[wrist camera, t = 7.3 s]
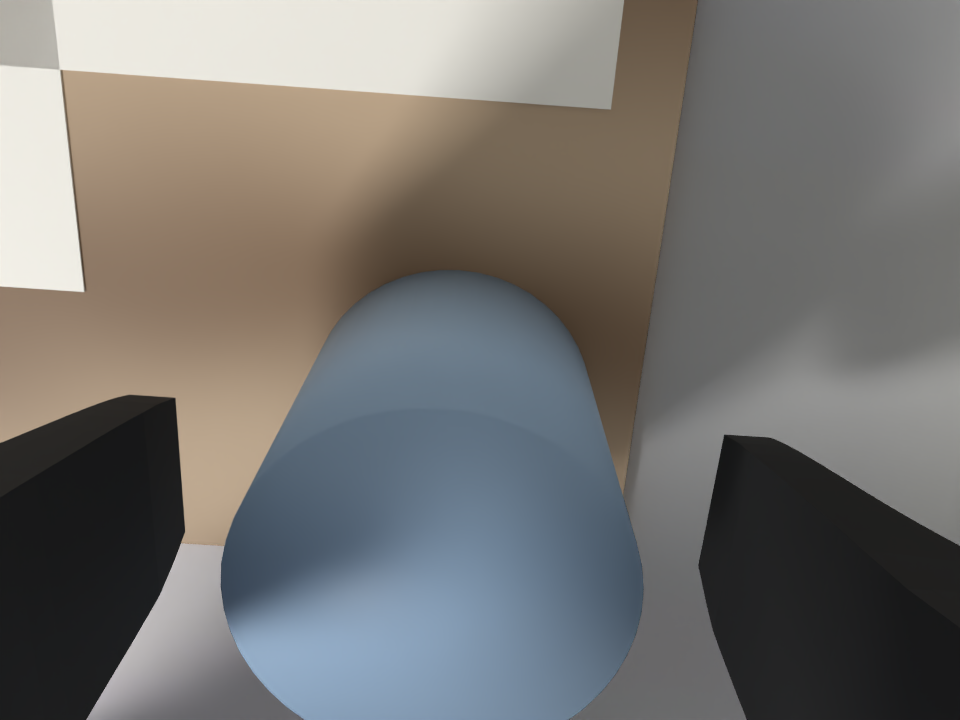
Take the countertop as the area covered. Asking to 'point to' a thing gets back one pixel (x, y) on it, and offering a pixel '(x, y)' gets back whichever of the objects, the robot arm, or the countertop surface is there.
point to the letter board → (334, 240)
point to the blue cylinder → (437, 519)
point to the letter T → (266, 76)
